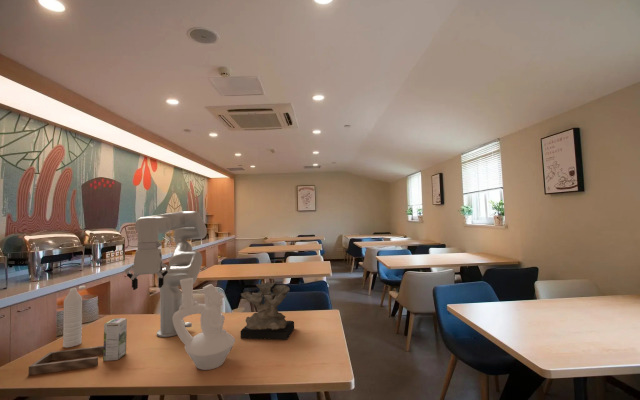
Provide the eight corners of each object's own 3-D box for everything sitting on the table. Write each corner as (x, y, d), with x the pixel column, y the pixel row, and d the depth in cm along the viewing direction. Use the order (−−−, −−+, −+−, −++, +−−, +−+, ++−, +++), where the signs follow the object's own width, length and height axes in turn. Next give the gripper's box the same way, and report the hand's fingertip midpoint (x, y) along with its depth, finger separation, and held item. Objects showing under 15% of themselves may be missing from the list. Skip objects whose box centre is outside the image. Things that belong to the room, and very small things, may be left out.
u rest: (110, 352, 125) (110, 344, 125) (96, 366, 113) (96, 357, 113) (49, 359, 120) (50, 352, 120) (28, 375, 108) (28, 366, 108)
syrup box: (111, 354, 123) (112, 318, 124) (126, 353, 123) (127, 317, 124) (102, 361, 117) (103, 323, 118) (118, 360, 118) (119, 322, 118)
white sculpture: (230, 374, 104) (228, 280, 106) (164, 379, 102) (164, 284, 104) (238, 351, 122) (237, 271, 124) (183, 355, 119) (182, 274, 121)
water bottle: (71, 348, 131) (72, 290, 132) (58, 347, 132) (60, 289, 133) (90, 340, 139) (90, 285, 141) (78, 339, 140) (79, 285, 142)
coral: (233, 338, 136) (232, 290, 137) (251, 322, 155) (251, 280, 157) (286, 341, 131) (284, 291, 132) (298, 324, 151) (297, 281, 152)
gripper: (172, 244, 132) (172, 284, 130) (128, 246, 127) (128, 288, 126) (168, 246, 124) (168, 288, 123) (121, 248, 120) (120, 292, 119)
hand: (148, 288), depth 125 cm, fingers open, 9 cm apart
